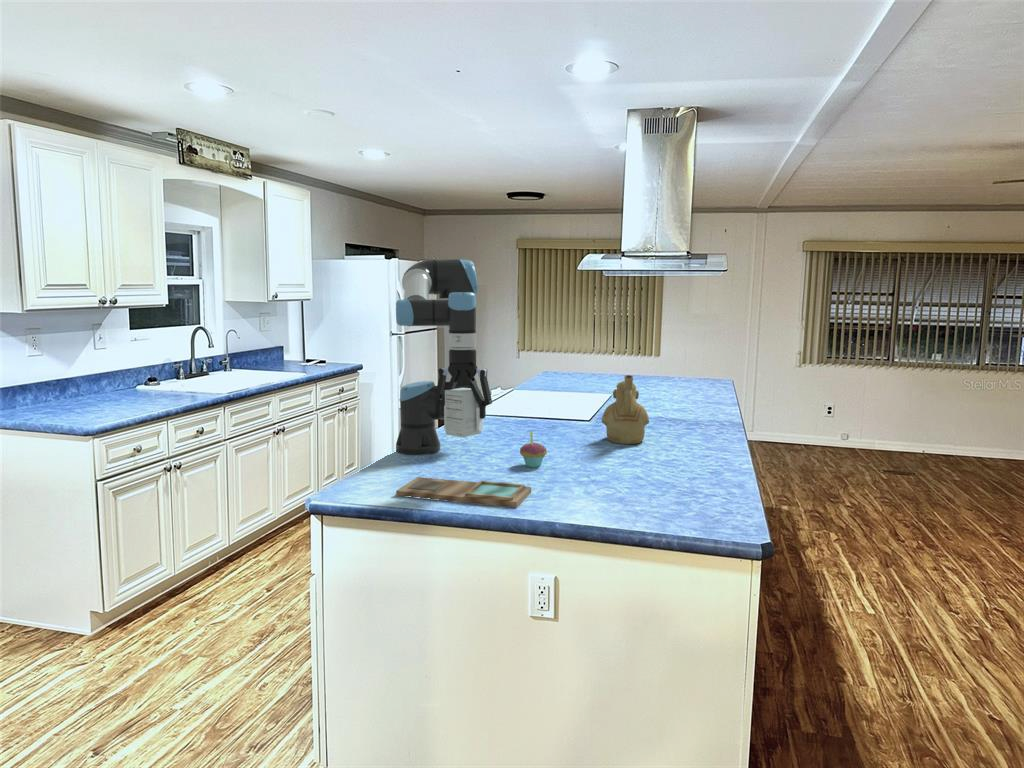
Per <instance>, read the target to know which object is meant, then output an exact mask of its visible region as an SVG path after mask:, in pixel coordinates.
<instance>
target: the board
mask: <svg viewBox="0 0 1024 768" xmlns="http://www.w3.org/2000/svg"><path fill="white" fill-rule="evenodd" d="M531 493H532V487H531V486H525V484H523V483H512V482H504V481H503V482H501V481H500V482H499V481H490V480H489V481H488V480H480V481H467V480H466V481H465V480H456V479H455V480H454V479H444V478H432V477H431V478H430V477H423V476H422V477H420V476H417V477H415V478H414V479H412V480H411V481H409V482H407V483H406V484H404V485H403V486H401V487H400V488H398V489H397V490H395V496H396V495H398V496H397V497H400V496H411V497H420V498H419V499H421V498H430V499H429V500H431V499H439V500H438V501H441V500H447V501H446V502H452V501H457V502H456V503H462V502H465V503H464V504H473V505H486V506H493V505H495V506H496V507H503V508H504V507H505V508H515V509H516V508H518V507H519V506H520V505H521V504H522V503H523V502H524V501H525V500H526V498H528V496H530V494H531ZM474 503H475V504H474ZM495 506H494V507H495Z"/></svg>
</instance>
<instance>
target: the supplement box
mask: <svg viewBox="0 0 1024 768" xmlns="http://www.w3.org/2000/svg"><path fill="white" fill-rule="evenodd" d="M479 390H480V392H481V391H482V389H479ZM481 393H482V392H481ZM478 406H479V405H478V403H477V400H476V398H475V396H474V394H473V391H472V390H471V388H457V389H452V390H445V429H444V430H445V431H444V432H445V435H447V436H453V437H459V438H467V437H471V436H475V435H480V434H482V430H480V431H477V418H476V408H477V407H478Z"/></svg>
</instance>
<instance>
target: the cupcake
mask: <svg viewBox="0 0 1024 768" xmlns="http://www.w3.org/2000/svg"><path fill="white" fill-rule="evenodd" d="M529 435H530V442H529V443H525V444H523V445H522V446H521V448H520V449H519V454H520V455H521V456H522V457H523V460H524V464H525V466H526V467H528V466H529V467H528V468H539V467H541V466H542V463H543V460H544V458H545V456H546V455H547V454H548V452H547V448H546V447H545V446H544V445H542V444H541V443H538V442H537V443H536V442H534V437H533V436H534V435H533V431H532V429H530V434H529ZM538 466H539V467H538Z"/></svg>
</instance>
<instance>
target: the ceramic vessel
mask: <svg viewBox="0 0 1024 768" xmlns="http://www.w3.org/2000/svg"><path fill="white" fill-rule="evenodd" d="M633 381H634V376H633V375H630V374H627V375H624V380H621V381H619V383H617V384H616V386H615V387H616V389H613V391H612V396H613V399H615V401H614V402H613V403H611V404H609V405H608V406H607V407H606V408H605V410H604V412H603V413H602V416H601V423H602V424H603V425H605V429H606V437H607V439H608V440H609V442H612V443H614V444H621V445H634V444H635V445H636V444H640V443H641V442H643V440H644V439H645V433H646V431H645V430H646V429H645V427H646V426H647V425H649V423H650V420H649V415H648V413H647V412H648V411H647V410H646V408H645V407H644V406H643V405H641V404H640V403H638V402H637V400H638V399H639V396H640V393H639V390H637V386H636V384H635V383H634V382H633Z"/></svg>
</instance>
